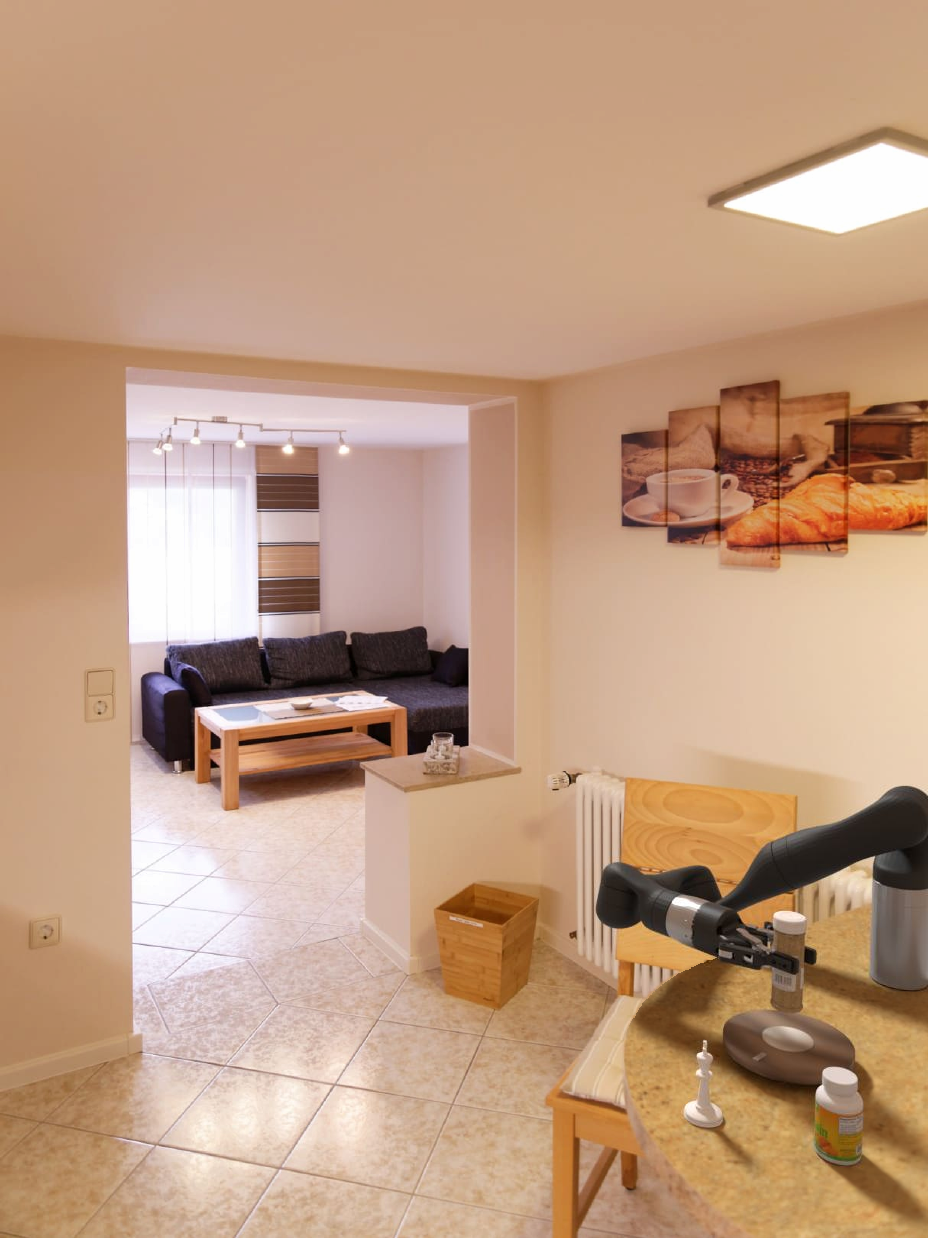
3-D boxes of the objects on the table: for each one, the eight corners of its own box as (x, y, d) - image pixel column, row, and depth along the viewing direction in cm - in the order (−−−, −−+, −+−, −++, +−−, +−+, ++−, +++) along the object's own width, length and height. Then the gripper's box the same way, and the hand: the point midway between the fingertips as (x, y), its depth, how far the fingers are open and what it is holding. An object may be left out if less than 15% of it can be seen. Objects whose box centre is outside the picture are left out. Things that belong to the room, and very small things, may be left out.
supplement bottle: (805, 1140, 115) (808, 1064, 115) (847, 1138, 116) (850, 1062, 115) (826, 1168, 110) (829, 1088, 109) (870, 1166, 110) (872, 1087, 110)
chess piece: (724, 1110, 122) (726, 1035, 121) (721, 1131, 117) (723, 1054, 116) (685, 1102, 123) (687, 1029, 123) (681, 1123, 119) (683, 1047, 118)
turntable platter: (764, 1008, 147) (764, 997, 146) (877, 1053, 133) (878, 1041, 133) (697, 1046, 135) (698, 1035, 135) (815, 1100, 121) (815, 1088, 121)
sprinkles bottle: (809, 1009, 133) (814, 918, 132) (789, 1017, 130) (793, 924, 130) (782, 996, 137) (787, 907, 136) (762, 1004, 134) (766, 913, 133)
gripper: (727, 937, 149) (830, 974, 136) (674, 961, 139) (779, 1004, 127) (729, 891, 148) (832, 924, 135) (676, 913, 139) (781, 950, 126)
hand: (806, 962), depth 131 cm, fingers closed on sprinkles bottle, 4 cm apart
